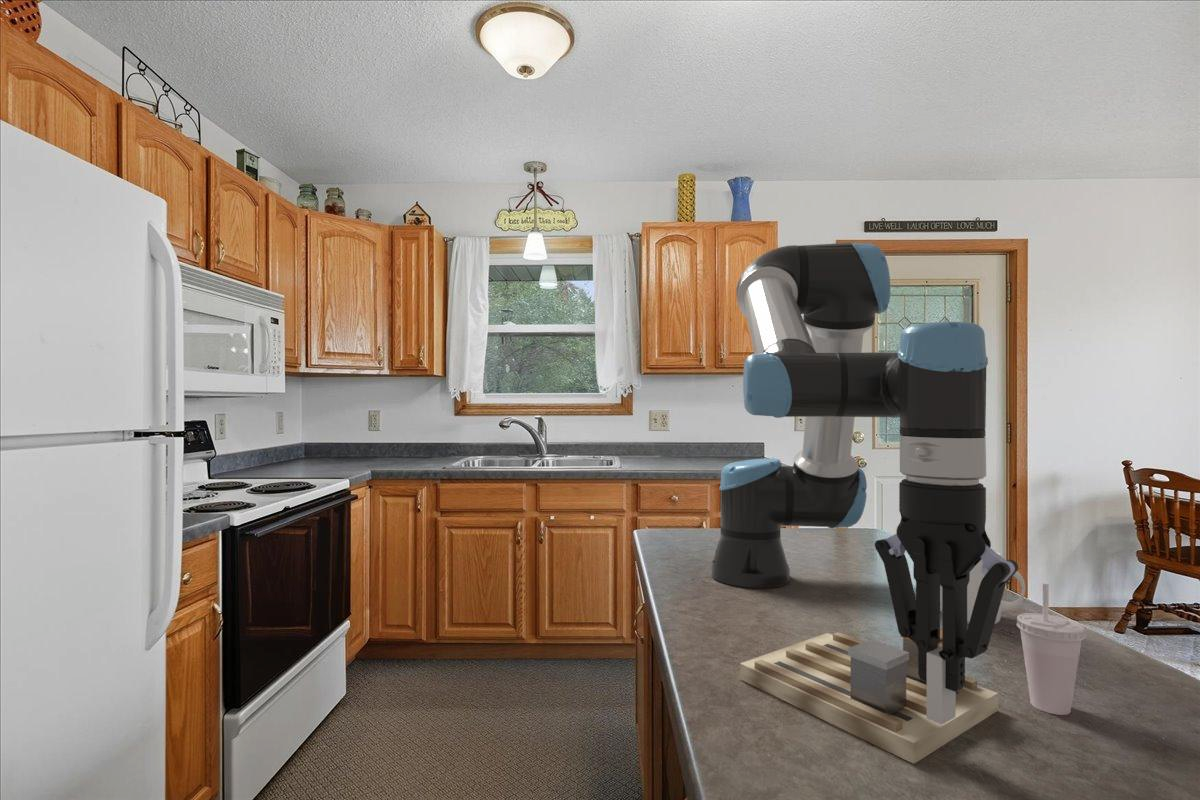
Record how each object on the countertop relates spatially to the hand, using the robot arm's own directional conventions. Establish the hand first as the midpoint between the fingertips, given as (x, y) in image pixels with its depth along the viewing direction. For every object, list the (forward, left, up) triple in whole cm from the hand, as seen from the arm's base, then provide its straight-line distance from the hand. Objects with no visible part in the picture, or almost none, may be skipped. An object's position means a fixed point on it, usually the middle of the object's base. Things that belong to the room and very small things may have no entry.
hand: (941, 717), depth 61 cm
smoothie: (+2, +20, -4) cm, 20 cm away
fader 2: (-6, +10, -1) cm, 12 cm away
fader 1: (-7, 0, -1) cm, 7 cm away
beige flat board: (-12, +5, -4) cm, 13 cm away
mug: (-16, +45, -4) cm, 48 cm away
